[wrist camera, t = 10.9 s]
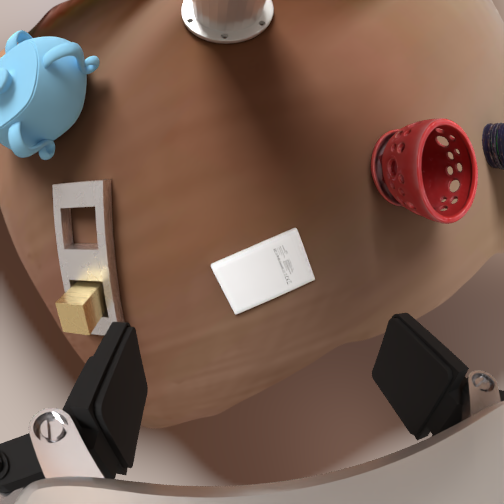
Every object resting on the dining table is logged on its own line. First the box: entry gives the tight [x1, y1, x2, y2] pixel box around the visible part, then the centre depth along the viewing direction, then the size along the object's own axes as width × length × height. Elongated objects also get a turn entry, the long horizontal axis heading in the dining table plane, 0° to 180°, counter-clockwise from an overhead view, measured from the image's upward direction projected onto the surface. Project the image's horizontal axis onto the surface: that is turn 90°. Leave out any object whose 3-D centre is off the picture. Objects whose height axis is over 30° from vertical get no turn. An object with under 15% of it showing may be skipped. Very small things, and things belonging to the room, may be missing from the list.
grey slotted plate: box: [53, 179, 124, 335], centre depth 34 cm, size 22×8×3 cm, turn 177°
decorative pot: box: [0, 30, 99, 160], centre depth 21 cm, size 16×16×14 cm
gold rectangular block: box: [56, 280, 107, 335], centre depth 32 cm, size 4×4×9 cm
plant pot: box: [371, 119, 478, 224], centre depth 31 cm, size 13×13×12 cm
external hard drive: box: [211, 228, 315, 315], centre depth 39 cm, size 2×8×12 cm
